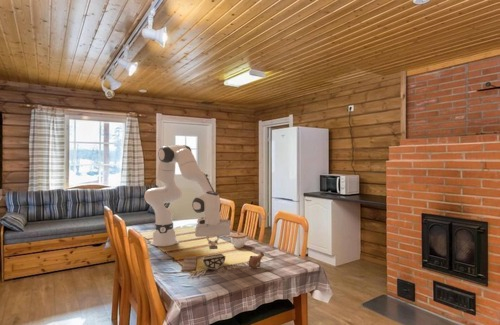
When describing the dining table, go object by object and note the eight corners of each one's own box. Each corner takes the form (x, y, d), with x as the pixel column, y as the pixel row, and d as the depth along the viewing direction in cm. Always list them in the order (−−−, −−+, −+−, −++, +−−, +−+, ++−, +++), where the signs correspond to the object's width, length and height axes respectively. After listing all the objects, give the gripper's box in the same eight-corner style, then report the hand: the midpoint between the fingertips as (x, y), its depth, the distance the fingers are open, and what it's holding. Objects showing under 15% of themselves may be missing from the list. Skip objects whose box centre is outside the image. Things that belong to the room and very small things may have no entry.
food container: (203, 268, 170) (203, 272, 160) (201, 256, 170) (202, 259, 161) (225, 264, 172) (227, 268, 162) (223, 253, 173) (225, 256, 163)
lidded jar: (227, 247, 203) (227, 233, 202) (235, 243, 212) (235, 229, 212) (241, 249, 198) (241, 234, 197) (249, 245, 207) (249, 231, 207)
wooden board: (184, 258, 181) (184, 257, 181) (196, 258, 182) (196, 256, 182) (181, 271, 161) (181, 269, 161) (195, 270, 162) (195, 268, 162)
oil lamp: (262, 265, 168) (262, 250, 168) (265, 267, 165) (265, 252, 165) (247, 267, 165) (247, 252, 165) (250, 270, 161) (250, 255, 161)
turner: (209, 245, 184) (209, 240, 185) (216, 244, 185) (216, 239, 185) (209, 249, 169) (209, 243, 169) (217, 248, 169) (217, 243, 170)
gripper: (230, 217, 183) (230, 241, 183) (195, 219, 181) (195, 242, 181) (230, 220, 177) (231, 244, 177) (194, 221, 174) (195, 245, 175)
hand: (213, 243), depth 179 cm, fingers closed on turner, 2 cm apart
